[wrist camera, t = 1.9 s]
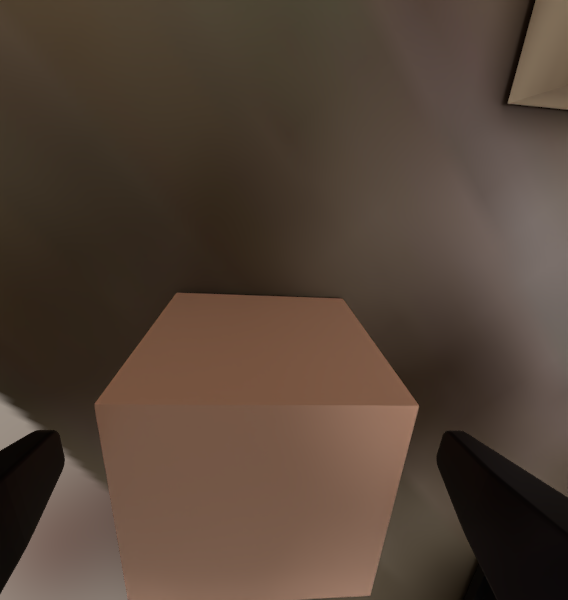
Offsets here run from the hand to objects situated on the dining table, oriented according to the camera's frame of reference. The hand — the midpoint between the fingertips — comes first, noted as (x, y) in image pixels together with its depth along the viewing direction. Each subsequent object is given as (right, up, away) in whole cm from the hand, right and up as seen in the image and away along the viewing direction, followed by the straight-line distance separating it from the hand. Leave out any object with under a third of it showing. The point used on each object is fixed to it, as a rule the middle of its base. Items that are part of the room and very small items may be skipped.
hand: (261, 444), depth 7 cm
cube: (0, +1, +3) cm, 3 cm away
